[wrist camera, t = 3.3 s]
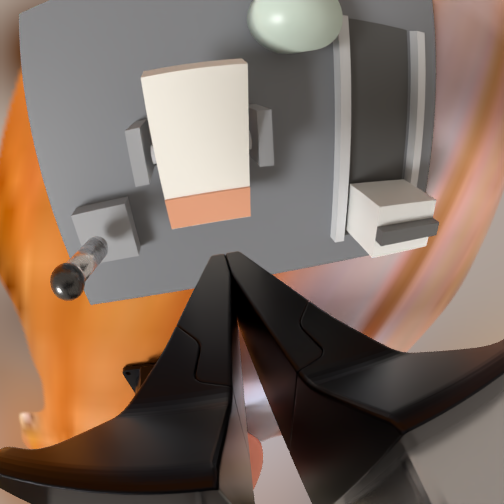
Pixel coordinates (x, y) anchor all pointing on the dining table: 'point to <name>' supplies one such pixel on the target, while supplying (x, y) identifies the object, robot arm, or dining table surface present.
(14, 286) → the dining table surface
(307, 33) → the push button
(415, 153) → the switch panel
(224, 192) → the rocker switch
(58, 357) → the dining table surface
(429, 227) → the slide paddle
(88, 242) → the toggle lever
